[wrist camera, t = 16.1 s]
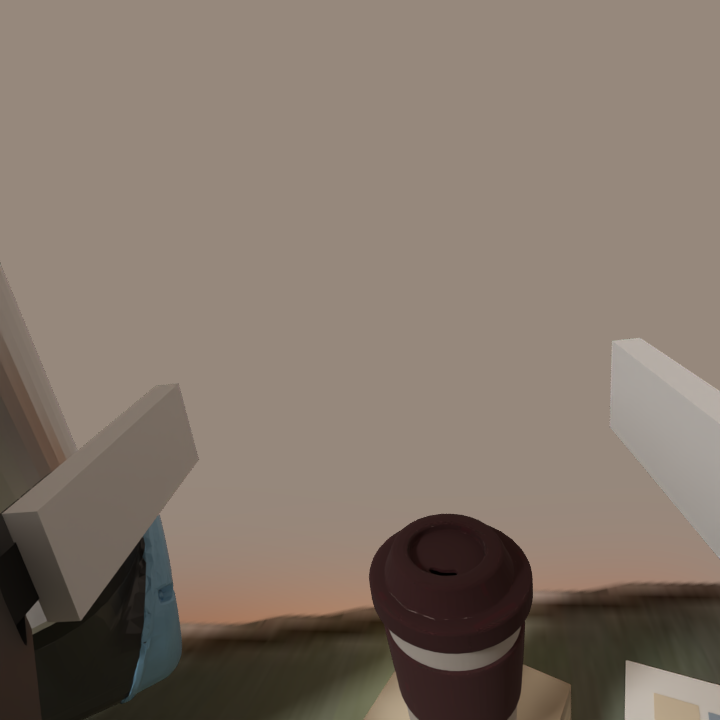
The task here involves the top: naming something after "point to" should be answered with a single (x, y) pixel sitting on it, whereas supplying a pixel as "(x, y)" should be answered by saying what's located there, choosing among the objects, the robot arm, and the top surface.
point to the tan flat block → (534, 709)
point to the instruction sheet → (668, 695)
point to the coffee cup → (454, 616)
